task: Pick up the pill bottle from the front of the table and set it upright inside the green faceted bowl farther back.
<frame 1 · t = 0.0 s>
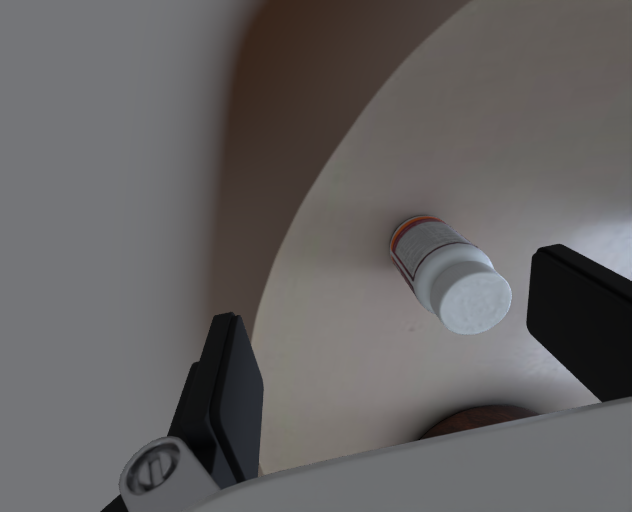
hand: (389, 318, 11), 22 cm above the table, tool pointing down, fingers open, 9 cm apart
wooden bowl: (475, 453, 49), on the table
pill bottle: (417, 242, 34), on the table
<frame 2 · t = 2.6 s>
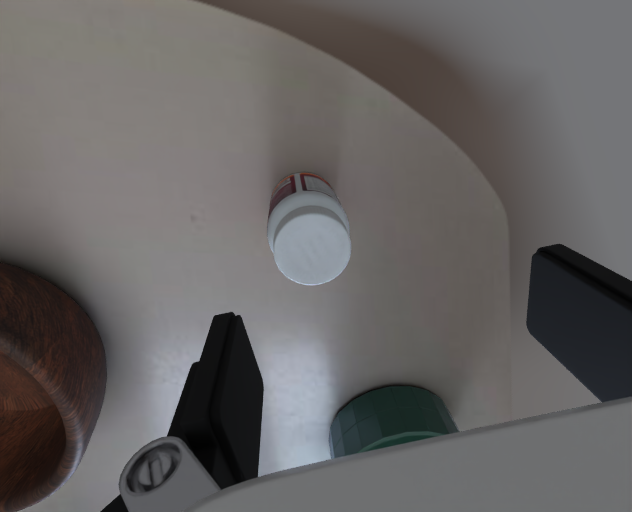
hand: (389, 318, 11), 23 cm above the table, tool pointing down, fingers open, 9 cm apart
wooden bowl: (4, 341, 36), on the table
pill bottle: (303, 203, 33), on the table
green faceted bowl: (388, 428, 47), on the table
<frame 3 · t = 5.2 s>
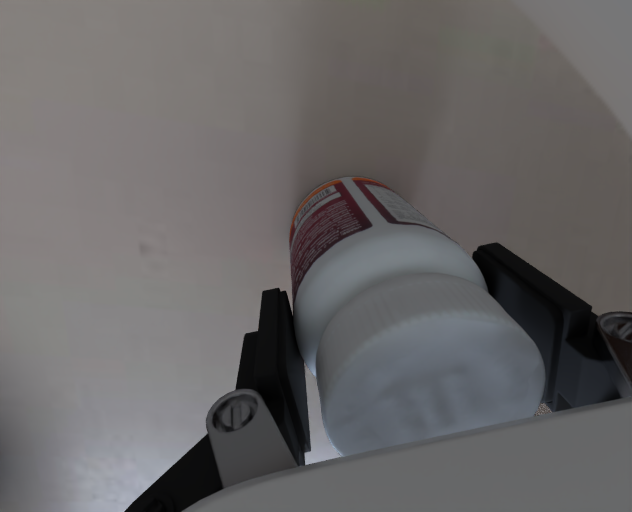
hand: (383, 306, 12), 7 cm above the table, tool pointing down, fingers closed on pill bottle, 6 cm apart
pill bottle: (347, 231, 18), on the table, touching gripper
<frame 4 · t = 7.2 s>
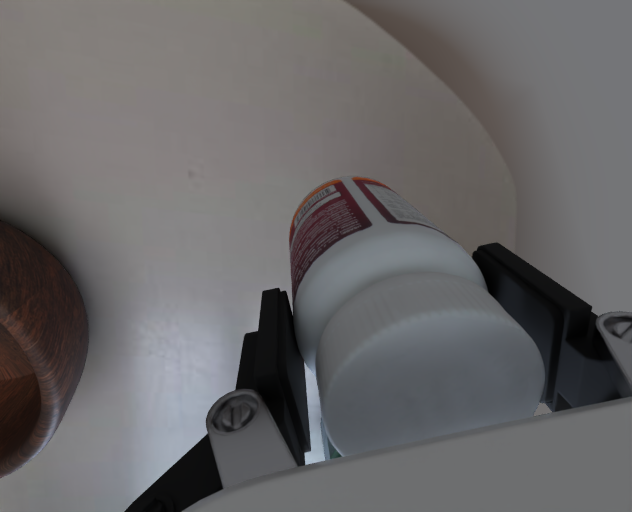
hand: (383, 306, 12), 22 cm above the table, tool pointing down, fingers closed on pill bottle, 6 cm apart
pill bottle: (347, 231, 18), point 15 cm above the table, touching gripper
green faceted bowl: (382, 413, 45), on the table
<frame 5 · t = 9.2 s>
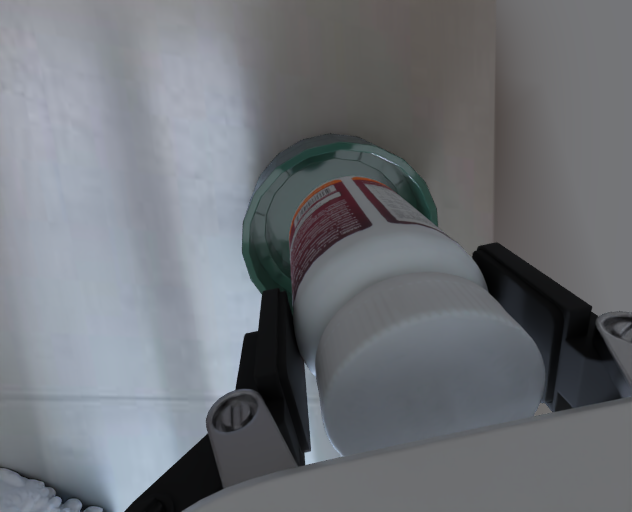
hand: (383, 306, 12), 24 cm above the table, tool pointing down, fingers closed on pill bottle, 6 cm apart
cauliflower: (45, 503, 49), on the table
pill bottle: (347, 231, 18), point 16 cm above the table, touching gripper
green faceted bowl: (331, 218, 35), on the table
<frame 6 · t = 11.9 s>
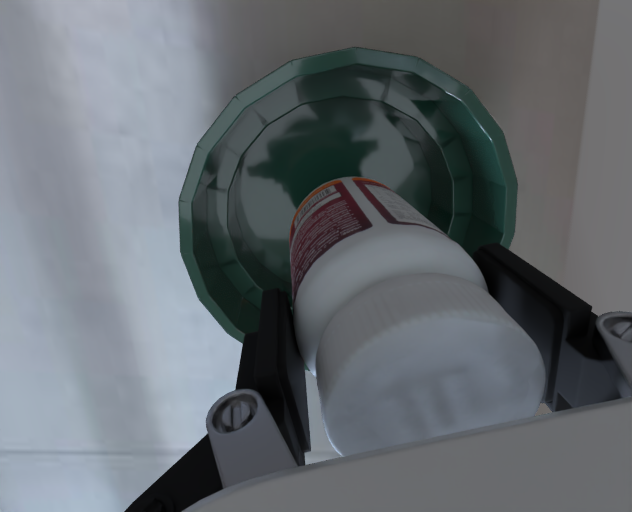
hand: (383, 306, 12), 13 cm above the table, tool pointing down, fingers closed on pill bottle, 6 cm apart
pill bottle: (348, 231, 18), point 5 cm above the table, touching gripper
green faceted bowl: (333, 203, 23), on the table
when the fingers open (8 cm above the table, at t = 13.7 s): pill bottle stays where it is, resting on green faceted bowl.
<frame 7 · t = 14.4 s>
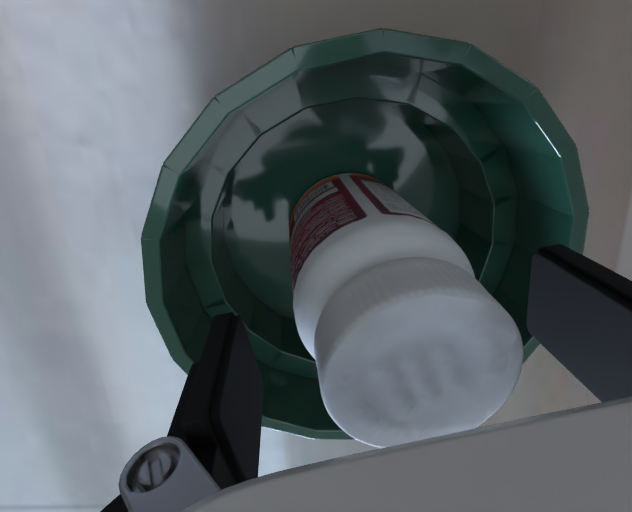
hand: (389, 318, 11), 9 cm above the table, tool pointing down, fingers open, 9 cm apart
pill bottle: (345, 226, 19), resting on green faceted bowl
green faceted bowl: (342, 225, 19), on the table
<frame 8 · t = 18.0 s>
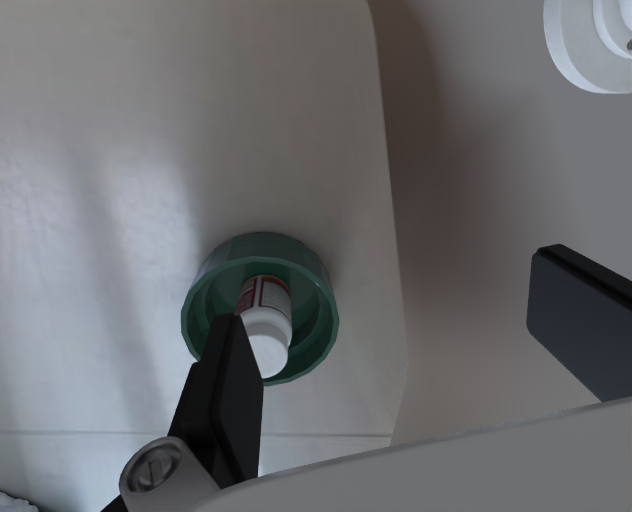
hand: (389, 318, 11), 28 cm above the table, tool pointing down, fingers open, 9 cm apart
pill bottle: (265, 294, 42), resting on green faceted bowl
green faceted bowl: (264, 293, 43), on the table
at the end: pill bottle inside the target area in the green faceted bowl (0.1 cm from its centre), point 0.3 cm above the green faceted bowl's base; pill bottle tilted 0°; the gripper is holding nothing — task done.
